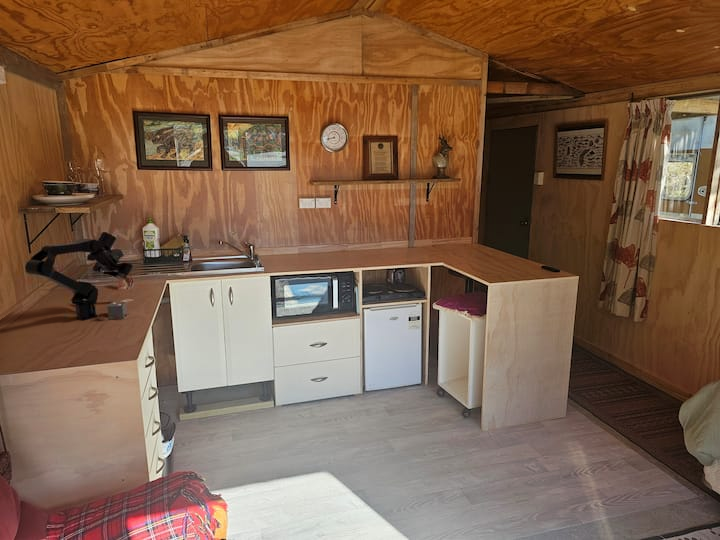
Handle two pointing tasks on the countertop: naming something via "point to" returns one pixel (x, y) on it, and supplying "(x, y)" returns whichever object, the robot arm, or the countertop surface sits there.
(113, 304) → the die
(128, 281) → the bull figurine
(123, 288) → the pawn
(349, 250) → the countertop surface
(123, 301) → the game board
